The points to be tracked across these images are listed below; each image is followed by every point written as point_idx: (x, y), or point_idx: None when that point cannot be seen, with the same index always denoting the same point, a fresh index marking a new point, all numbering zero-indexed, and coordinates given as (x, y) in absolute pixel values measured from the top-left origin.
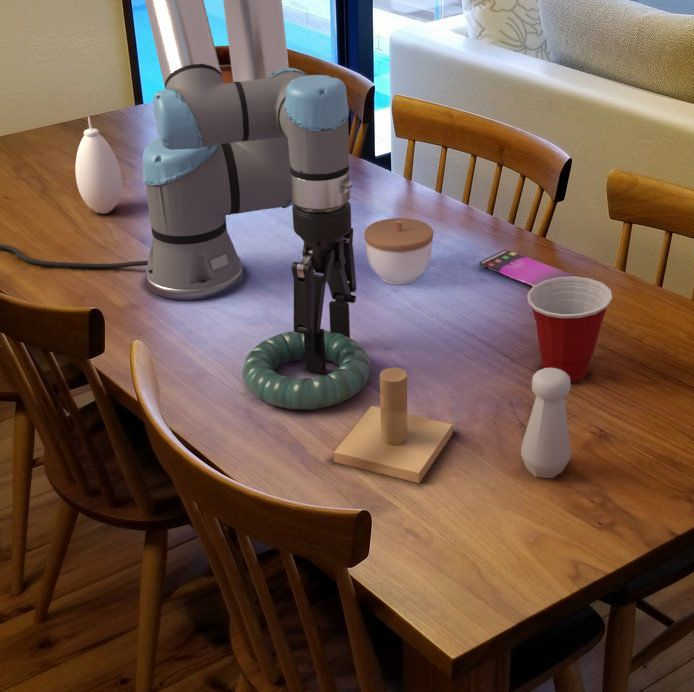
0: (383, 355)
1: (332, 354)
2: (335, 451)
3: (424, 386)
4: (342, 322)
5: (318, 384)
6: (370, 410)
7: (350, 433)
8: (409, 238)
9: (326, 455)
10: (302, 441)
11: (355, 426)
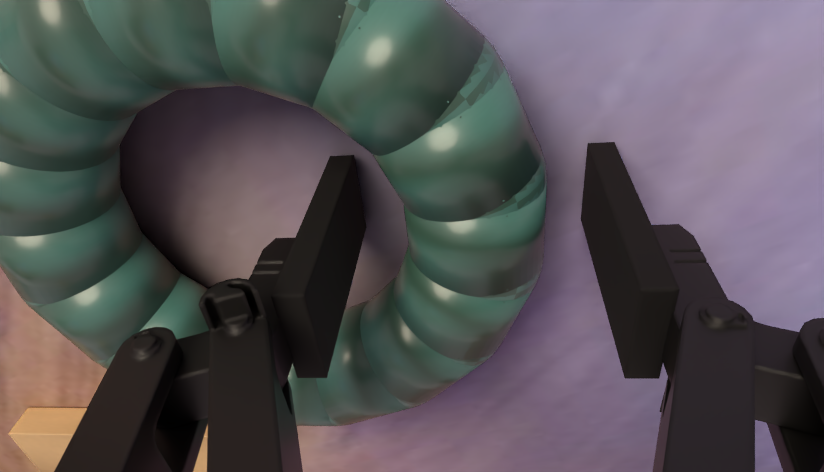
0: (576, 331)
1: (400, 273)
2: (12, 435)
3: (447, 457)
4: (607, 278)
5: None
6: None
7: None
8: None
9: (31, 386)
10: (17, 323)
11: None
